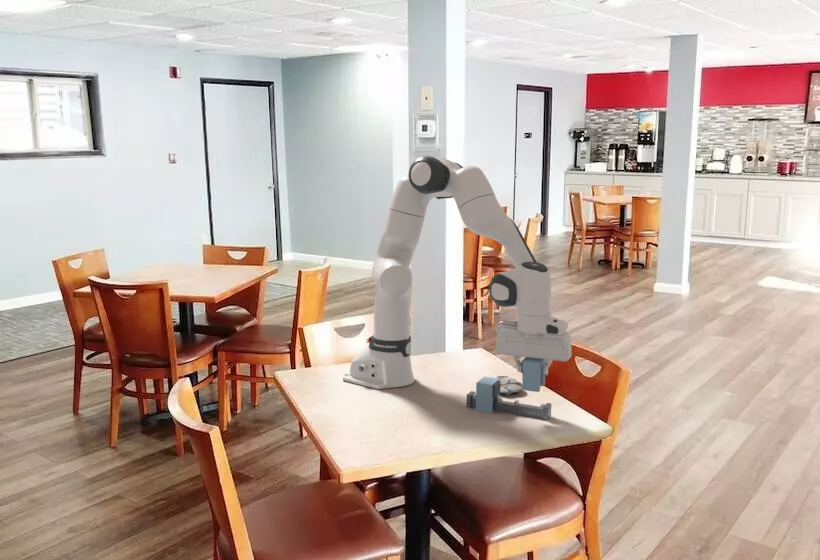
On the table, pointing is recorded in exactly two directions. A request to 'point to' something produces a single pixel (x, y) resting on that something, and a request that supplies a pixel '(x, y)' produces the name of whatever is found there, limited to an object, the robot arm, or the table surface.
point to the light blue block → (532, 374)
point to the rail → (514, 407)
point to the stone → (509, 385)
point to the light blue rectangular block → (487, 393)
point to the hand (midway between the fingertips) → (532, 372)
